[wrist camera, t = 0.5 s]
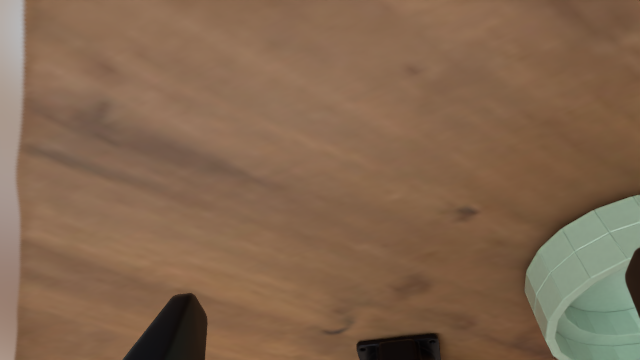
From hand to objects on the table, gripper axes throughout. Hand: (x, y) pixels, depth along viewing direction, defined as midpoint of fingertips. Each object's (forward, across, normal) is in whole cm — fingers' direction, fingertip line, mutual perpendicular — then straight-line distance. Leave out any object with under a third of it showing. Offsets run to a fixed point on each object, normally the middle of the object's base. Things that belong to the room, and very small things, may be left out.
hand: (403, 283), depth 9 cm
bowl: (+14, -16, +19) cm, 28 cm away
